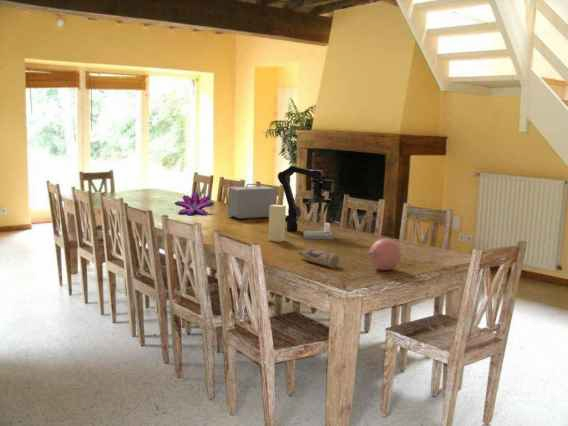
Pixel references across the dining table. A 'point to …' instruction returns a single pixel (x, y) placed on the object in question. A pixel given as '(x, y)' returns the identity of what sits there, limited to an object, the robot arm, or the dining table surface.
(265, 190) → the vintage electronic device
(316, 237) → the console
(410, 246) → the dining table surface
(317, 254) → the decorative bottle
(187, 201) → the decorative flower
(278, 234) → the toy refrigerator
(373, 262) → the pink round piece
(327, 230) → the fader tab
